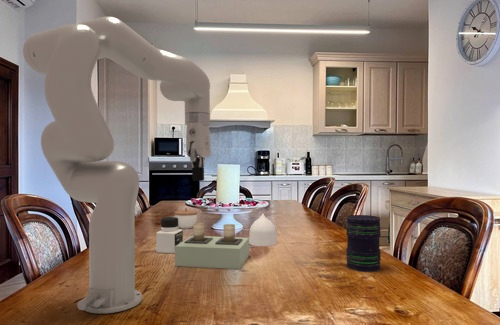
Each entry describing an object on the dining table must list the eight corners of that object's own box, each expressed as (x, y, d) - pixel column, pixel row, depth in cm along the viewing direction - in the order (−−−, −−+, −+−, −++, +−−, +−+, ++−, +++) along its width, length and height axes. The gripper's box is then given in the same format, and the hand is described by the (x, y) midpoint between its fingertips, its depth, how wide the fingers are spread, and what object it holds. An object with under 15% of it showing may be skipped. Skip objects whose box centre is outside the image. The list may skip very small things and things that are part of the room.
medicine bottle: (175, 253, 126) (175, 218, 126) (155, 252, 127) (155, 218, 127) (183, 248, 133) (182, 215, 133) (164, 248, 134) (164, 215, 134)
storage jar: (357, 273, 103) (357, 220, 103) (339, 264, 112) (339, 215, 112) (388, 270, 106) (387, 219, 106) (368, 261, 115) (368, 214, 115)
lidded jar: (201, 227, 178) (201, 207, 178) (186, 230, 168) (186, 210, 168) (185, 225, 183) (185, 206, 183) (169, 228, 174) (169, 208, 174)
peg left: (202, 245, 116) (202, 225, 116) (191, 245, 116) (191, 224, 116) (206, 243, 119) (205, 223, 119) (195, 242, 120) (195, 223, 120)
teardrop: (266, 239, 150) (266, 209, 150) (282, 244, 141) (282, 212, 141) (243, 242, 144) (243, 211, 144) (259, 247, 135) (259, 215, 135)
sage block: (239, 269, 107) (239, 247, 107) (175, 266, 111) (175, 244, 111) (249, 255, 123) (249, 236, 123) (192, 253, 126) (192, 234, 126)
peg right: (233, 246, 114) (233, 226, 114) (222, 246, 114) (222, 225, 114) (235, 244, 117) (235, 224, 117) (225, 243, 118) (225, 223, 118)
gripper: (201, 117, 102) (202, 182, 103) (216, 122, 117) (216, 179, 117) (176, 118, 104) (177, 182, 104) (193, 122, 118) (194, 179, 119)
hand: (198, 180), depth 111 cm, fingers closed
